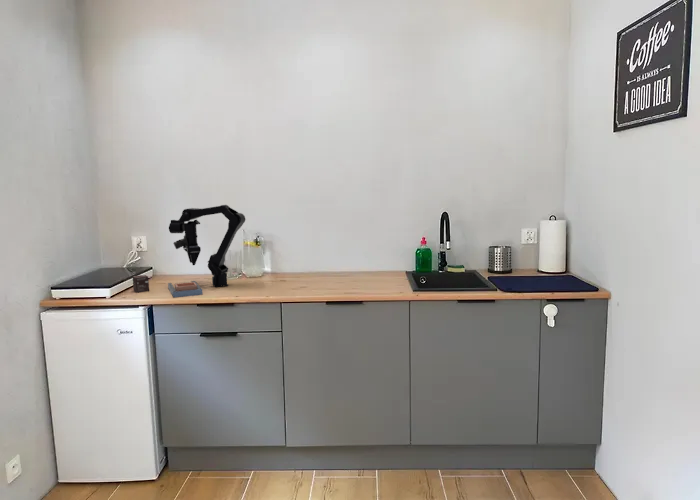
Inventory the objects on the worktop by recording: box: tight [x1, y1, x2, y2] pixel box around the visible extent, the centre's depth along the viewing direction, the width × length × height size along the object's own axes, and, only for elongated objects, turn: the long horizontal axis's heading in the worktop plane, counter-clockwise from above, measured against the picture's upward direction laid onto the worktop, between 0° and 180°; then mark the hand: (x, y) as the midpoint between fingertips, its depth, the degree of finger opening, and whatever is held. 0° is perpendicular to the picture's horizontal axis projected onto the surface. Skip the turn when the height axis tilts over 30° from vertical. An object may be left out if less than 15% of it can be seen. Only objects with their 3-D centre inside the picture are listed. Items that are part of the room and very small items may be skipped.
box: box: [132, 274, 150, 293], centre depth 250 cm, size 6×6×7 cm
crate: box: [174, 281, 197, 291], centre depth 244 cm, size 9×8×4 cm
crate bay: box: [167, 280, 203, 298], centre depth 249 cm, size 13×23×2 cm, turn 25°
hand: (192, 263), depth 261 cm, fingers open, 9 cm apart
